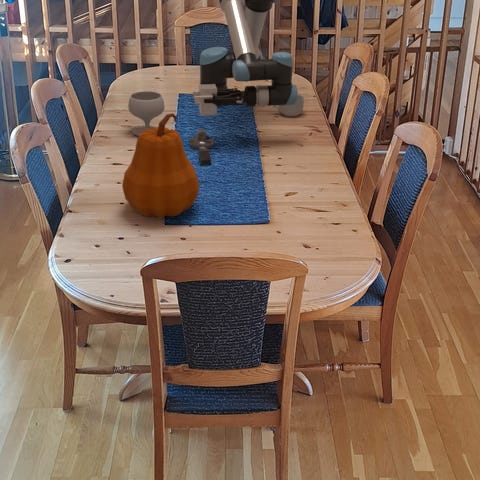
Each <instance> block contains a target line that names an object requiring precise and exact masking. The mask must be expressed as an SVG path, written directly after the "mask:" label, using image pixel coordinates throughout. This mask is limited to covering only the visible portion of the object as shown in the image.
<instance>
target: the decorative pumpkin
mask: <svg viewBox="0 0 480 480" xmlns="http://www.w3.org/2000/svg"><path fill="white" fill-rule="evenodd" d="M170 118H173V121H174V123H177V119H178V117H177V116H176V114H174V113H168V114H166V115H165V116H163V118H162V119H161V120H160V121H159V123H158V126H154V127H155V128H153V129H152V130H150V129H147V130H144V131H143V132H142V134H140V135H139V136H137V139H136V144H135V150H134V154H133V157H132V159H131V162H130V164H129V166H128V167H127V169H126V170H125V172H124V176H123V179H122V185H121V186H122V191H123V195H124V198H125V201H127V202H128V204H129V205H130V206H131V207H132V208H133V209H134V210H137V212H138V213H139V214H140V215H143V216H146V217H148V218H149V217H152V216H153V217H154V216H155V217H157V218H158V219H161V218H163V217H165V216H167V217H170V216H173V217H176V215H177V216H178V215H180V214H182V212H185V211H187V210H189V209H190V208H191V206H192V205H193V204H194V203H195V201H196V200H197V198H198V196H199V192H200V187H201V186H200V182H199V179H198V175H197V172H196V170H195V167H194V165H193V164H192V163H191V161H190V160H189V159H188V156H187V155H186V151H185V149H184V144H183V140H182V138H181V135H180V134H179V132H178V131H177V130H175V129H173V128H168V127H166V125H167V124H168V121H169V120H170Z"/></svg>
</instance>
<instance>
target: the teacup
mask: <svg viewBox="0 0 480 480" xmlns="http://www.w3.org/2000/svg"><path fill="white" fill-rule="evenodd" d="M297 94H298V98H297V102H296V103H295V104H294V105H285V106H284V105H281V106H272V107H273V108H275V109H276V110H277V111H279V112H280V114H282V115H283V116H284V117H288V118H295V117H297V116H299V115H300V114H301V113H302V112H303V111H304V103H305V96H304V95H302V94H299V93H297Z"/></svg>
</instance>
